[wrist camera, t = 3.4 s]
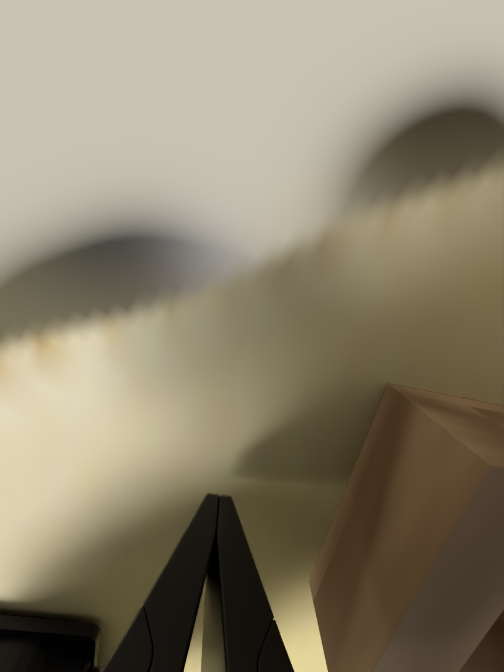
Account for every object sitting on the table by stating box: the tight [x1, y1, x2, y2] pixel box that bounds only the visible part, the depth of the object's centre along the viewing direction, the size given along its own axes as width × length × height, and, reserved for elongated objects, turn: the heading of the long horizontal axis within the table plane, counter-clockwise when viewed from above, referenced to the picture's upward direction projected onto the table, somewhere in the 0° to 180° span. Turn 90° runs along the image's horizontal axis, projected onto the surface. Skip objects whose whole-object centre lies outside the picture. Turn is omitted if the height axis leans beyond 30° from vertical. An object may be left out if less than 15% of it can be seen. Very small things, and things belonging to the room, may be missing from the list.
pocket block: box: [309, 384, 504, 672], centre depth 9 cm, size 10×10×4 cm
